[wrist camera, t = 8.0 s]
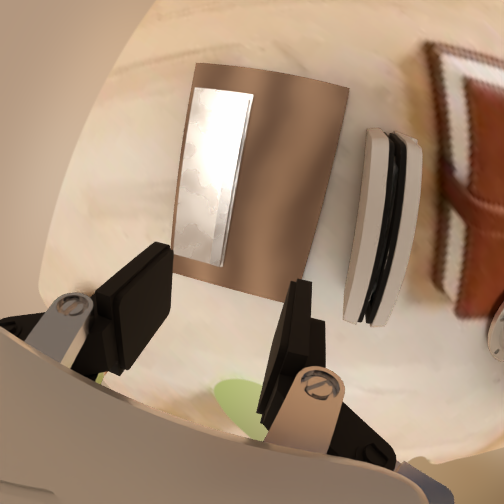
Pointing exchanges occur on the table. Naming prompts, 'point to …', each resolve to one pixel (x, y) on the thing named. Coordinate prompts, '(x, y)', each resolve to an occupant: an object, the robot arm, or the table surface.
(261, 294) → the mounting board
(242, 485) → the robot arm
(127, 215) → the table surface
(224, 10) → the table surface
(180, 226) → the plate
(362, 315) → the white arched block
